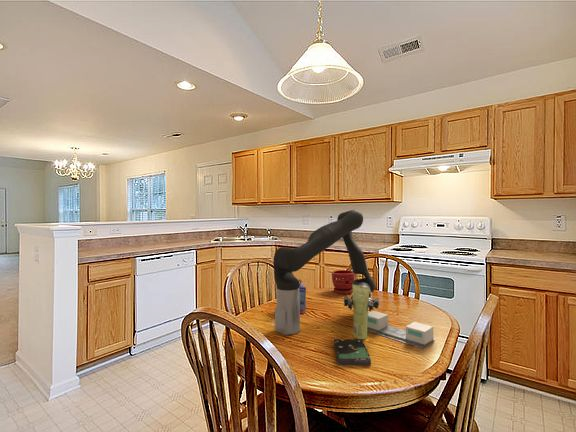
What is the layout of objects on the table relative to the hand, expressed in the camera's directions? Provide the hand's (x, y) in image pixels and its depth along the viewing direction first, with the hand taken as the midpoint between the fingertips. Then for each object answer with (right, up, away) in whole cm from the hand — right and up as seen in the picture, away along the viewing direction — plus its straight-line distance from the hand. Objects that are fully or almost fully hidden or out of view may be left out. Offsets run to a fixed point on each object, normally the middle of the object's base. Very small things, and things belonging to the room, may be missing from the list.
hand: (360, 307), depth 117 cm
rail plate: (+15, -12, +5) cm, 20 cm away
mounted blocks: (+15, -11, +5) cm, 19 cm away
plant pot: (+5, -11, +67) cm, 68 cm away
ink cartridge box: (-22, -12, +35) cm, 43 cm away
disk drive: (-6, -13, -11) cm, 18 cm away
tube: (+1, -12, +3) cm, 12 cm away
